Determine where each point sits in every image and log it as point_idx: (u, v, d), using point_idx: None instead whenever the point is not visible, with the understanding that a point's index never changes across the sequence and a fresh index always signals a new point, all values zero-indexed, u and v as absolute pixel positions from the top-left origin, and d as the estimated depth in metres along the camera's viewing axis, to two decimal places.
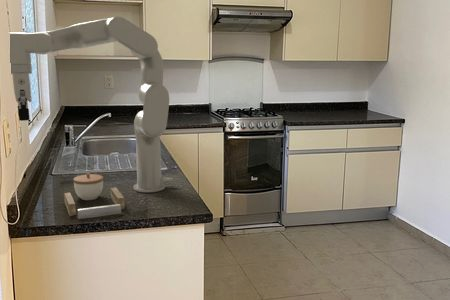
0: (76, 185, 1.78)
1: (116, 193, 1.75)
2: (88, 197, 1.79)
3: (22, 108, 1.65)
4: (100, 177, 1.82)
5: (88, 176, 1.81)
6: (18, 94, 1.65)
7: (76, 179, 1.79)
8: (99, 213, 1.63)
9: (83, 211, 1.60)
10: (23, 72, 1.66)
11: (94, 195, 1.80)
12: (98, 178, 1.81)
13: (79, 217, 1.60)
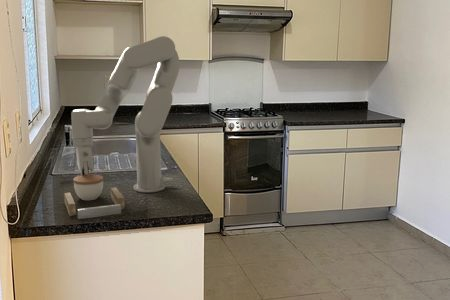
0: (76, 185, 1.77)
1: (116, 193, 1.75)
2: (88, 197, 1.79)
3: None
4: (100, 177, 1.82)
5: (88, 176, 1.81)
6: (82, 165, 1.83)
7: (76, 180, 1.78)
8: (99, 213, 1.63)
9: (83, 211, 1.60)
10: (86, 145, 1.83)
11: (94, 195, 1.79)
12: (98, 178, 1.80)
13: (79, 217, 1.60)
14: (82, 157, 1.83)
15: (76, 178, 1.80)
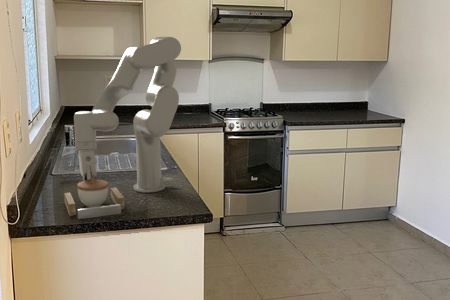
0: (82, 192, 1.70)
1: (116, 193, 1.75)
2: (94, 204, 1.71)
3: None
4: (105, 182, 1.75)
5: (93, 182, 1.73)
6: (85, 170, 1.75)
7: (81, 186, 1.70)
8: (99, 213, 1.63)
9: (83, 211, 1.60)
10: (89, 149, 1.76)
11: (100, 202, 1.72)
12: (104, 184, 1.73)
13: (79, 217, 1.60)
14: (85, 161, 1.75)
15: (80, 184, 1.72)
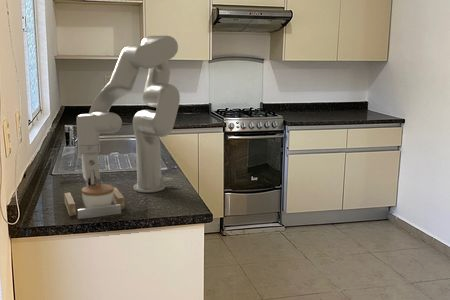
0: (87, 197, 1.64)
1: (116, 193, 1.75)
2: None
3: None
4: (110, 187, 1.69)
5: (98, 186, 1.68)
6: (88, 174, 1.70)
7: (86, 191, 1.64)
8: (99, 213, 1.63)
9: (83, 211, 1.60)
10: (93, 153, 1.70)
11: None
12: (109, 188, 1.68)
13: (79, 217, 1.60)
14: (88, 165, 1.69)
15: (85, 189, 1.66)
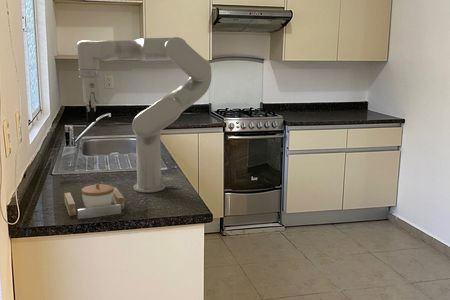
0: (87, 197, 1.64)
1: (116, 193, 1.75)
2: None
3: (90, 112, 1.87)
4: (110, 187, 1.69)
5: (98, 186, 1.68)
6: (89, 96, 1.82)
7: (86, 191, 1.64)
8: (99, 213, 1.63)
9: (83, 211, 1.60)
10: (93, 76, 1.83)
11: None
12: (109, 188, 1.68)
13: (79, 217, 1.60)
14: (89, 88, 1.82)
15: (85, 189, 1.66)
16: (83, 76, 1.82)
